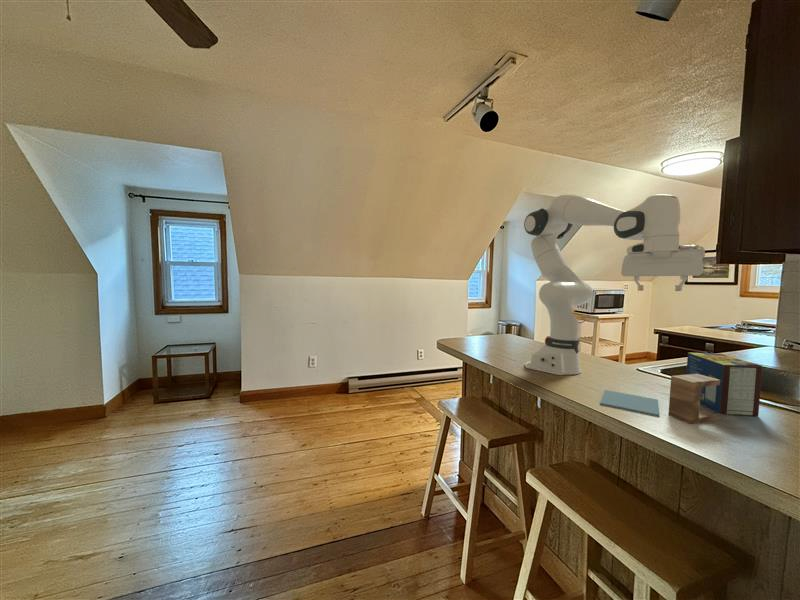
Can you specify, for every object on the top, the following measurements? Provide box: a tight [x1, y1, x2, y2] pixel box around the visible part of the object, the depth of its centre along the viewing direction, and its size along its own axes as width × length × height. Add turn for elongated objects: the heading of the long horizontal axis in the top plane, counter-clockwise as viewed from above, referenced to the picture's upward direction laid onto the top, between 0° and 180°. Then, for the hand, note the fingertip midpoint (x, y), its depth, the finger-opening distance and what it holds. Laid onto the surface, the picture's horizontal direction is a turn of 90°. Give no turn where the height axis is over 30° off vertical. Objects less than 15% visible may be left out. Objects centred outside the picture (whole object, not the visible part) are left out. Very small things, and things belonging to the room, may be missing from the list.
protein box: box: [685, 352, 763, 417], centre depth 105 cm, size 10×15×16 cm
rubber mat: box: [599, 389, 660, 418], centre depth 107 cm, size 15×15×1 cm
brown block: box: [668, 374, 720, 425], centre depth 96 cm, size 10×6×12 cm, turn 103°
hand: (658, 290), depth 104 cm, fingers open, 8 cm apart
